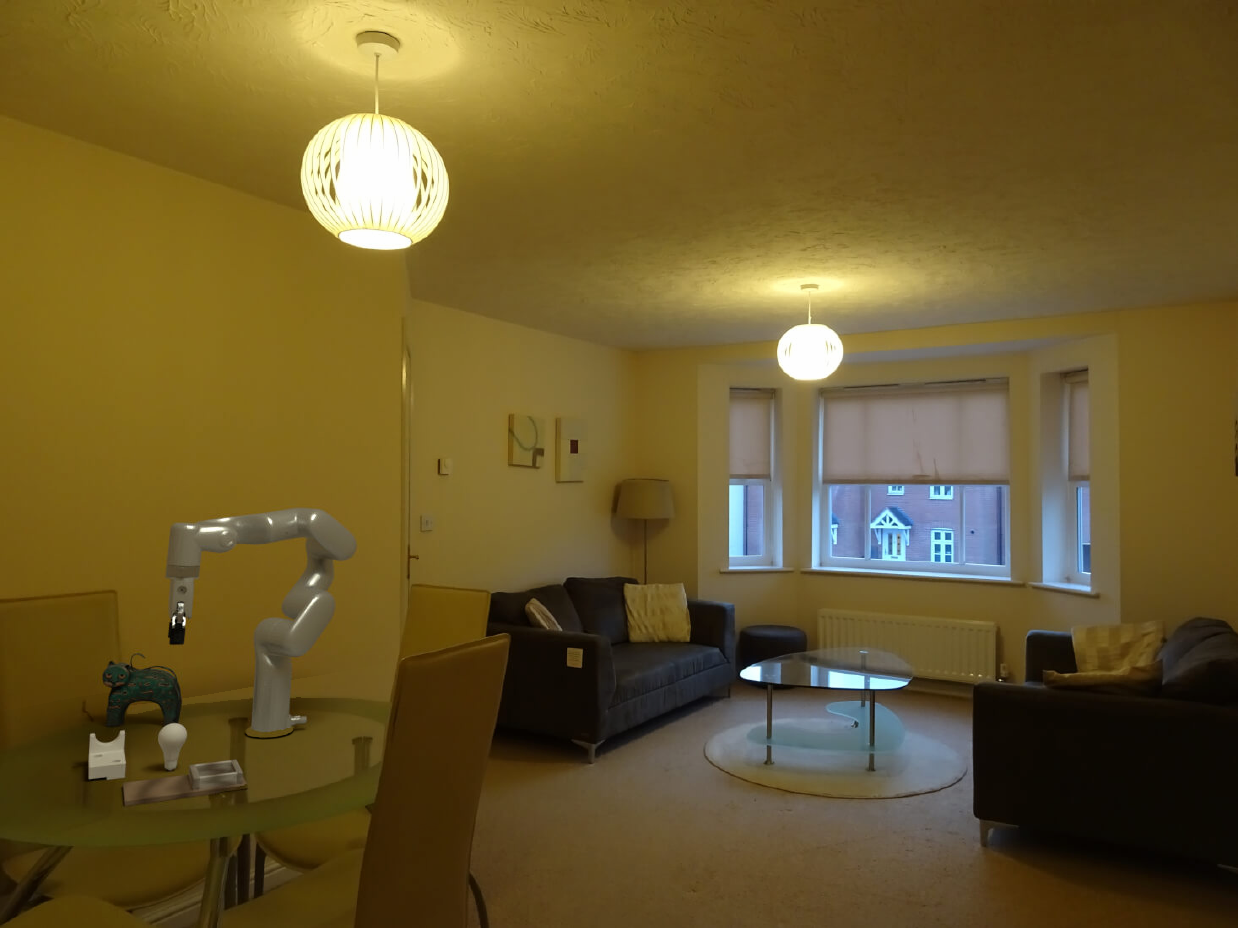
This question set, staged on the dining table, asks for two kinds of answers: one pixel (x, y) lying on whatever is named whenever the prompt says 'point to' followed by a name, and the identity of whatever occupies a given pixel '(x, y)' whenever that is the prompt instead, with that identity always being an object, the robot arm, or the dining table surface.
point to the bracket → (107, 758)
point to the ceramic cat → (141, 691)
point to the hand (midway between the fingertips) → (175, 641)
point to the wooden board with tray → (186, 783)
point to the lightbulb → (172, 743)
